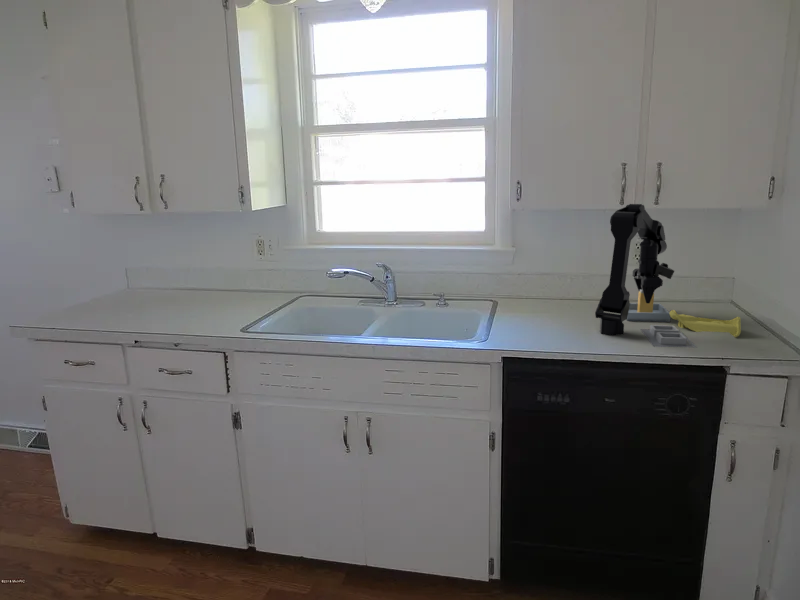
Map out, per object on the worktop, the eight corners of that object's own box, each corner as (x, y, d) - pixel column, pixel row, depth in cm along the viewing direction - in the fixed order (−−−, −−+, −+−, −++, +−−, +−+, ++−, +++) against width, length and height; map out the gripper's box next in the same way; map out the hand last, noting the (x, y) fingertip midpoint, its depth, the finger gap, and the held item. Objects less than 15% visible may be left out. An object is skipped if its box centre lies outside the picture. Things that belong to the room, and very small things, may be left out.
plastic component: (731, 321, 186) (741, 315, 177) (729, 343, 185) (740, 338, 176) (666, 314, 191) (673, 308, 182) (664, 335, 190) (672, 331, 180)
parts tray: (627, 320, 198) (628, 312, 198) (620, 310, 212) (620, 303, 211) (670, 321, 196) (670, 313, 195) (659, 311, 209) (660, 303, 208)
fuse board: (653, 351, 167) (654, 339, 166) (639, 333, 184) (640, 323, 183) (697, 352, 164) (698, 341, 164) (679, 334, 182) (680, 323, 181)
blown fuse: (652, 315, 202) (654, 291, 200) (639, 315, 202) (640, 291, 200) (650, 313, 205) (652, 289, 202) (637, 312, 205) (638, 289, 203)
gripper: (680, 262, 188) (676, 307, 192) (665, 253, 206) (662, 295, 210) (645, 262, 190) (641, 306, 194) (633, 253, 208) (630, 294, 212)
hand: (645, 300), depth 202 cm, fingers open, 8 cm apart
